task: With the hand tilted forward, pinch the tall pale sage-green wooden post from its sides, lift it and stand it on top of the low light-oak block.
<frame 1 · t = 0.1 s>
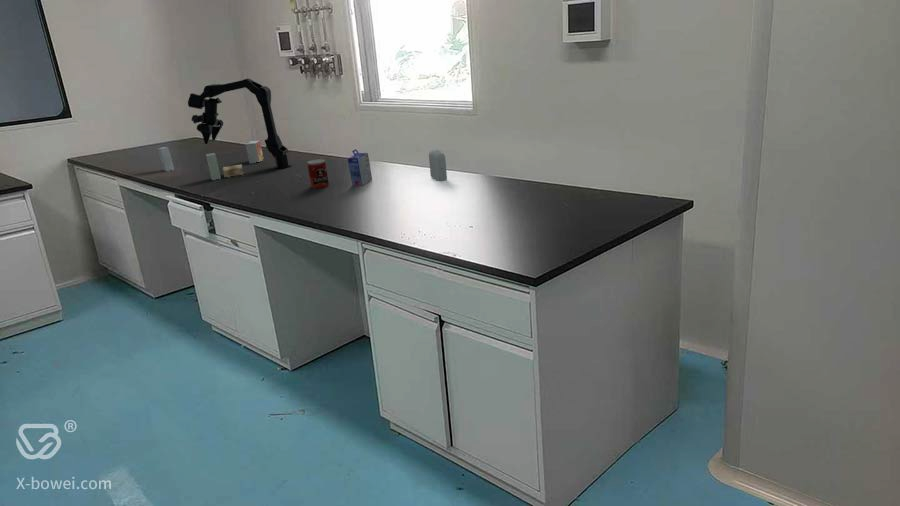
hand: (209, 142, 315), 15 cm above the worktop, tool pointing down, fingers open, 9 cm apart
ink cartridge box: (362, 183, 272), on the worktop
oak block: (234, 175, 311), on the worktop
sage post: (216, 178, 306), on the worktop
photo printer: (438, 179, 268), on the worktop
canned food: (320, 186, 274), on the worktop
skincare box: (168, 170, 336), on the worktop
small box: (256, 162, 337), on the worktop
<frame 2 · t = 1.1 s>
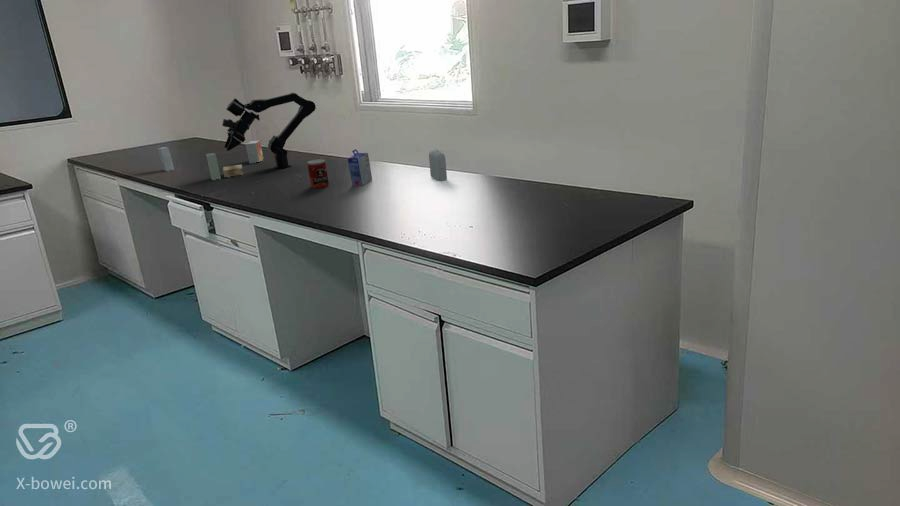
hand: (226, 148, 304), 13 cm above the worktop, tool tilted 45°, fingers open, 9 cm apart
nothing on the worktop moved.
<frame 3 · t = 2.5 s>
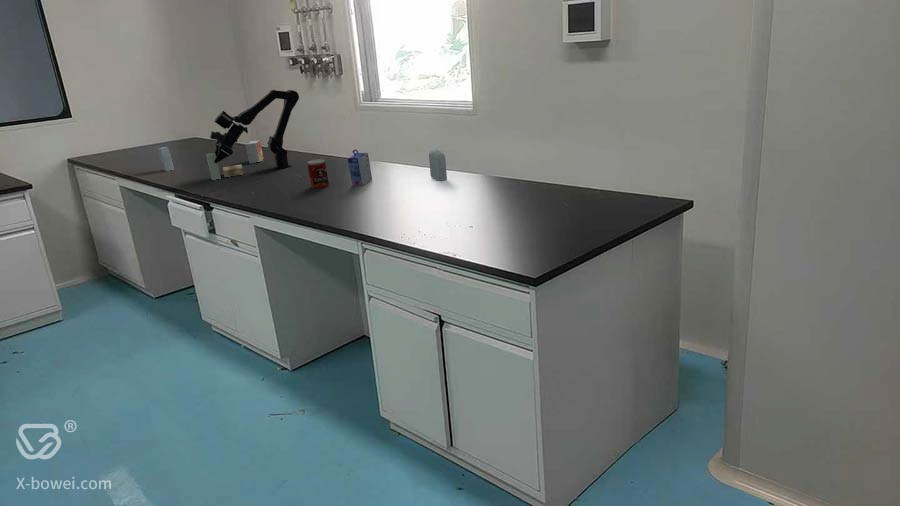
hand: (213, 161, 303), 9 cm above the worktop, tool tilted 45°, fingers open, 9 cm apart
nothing on the worktop moved.
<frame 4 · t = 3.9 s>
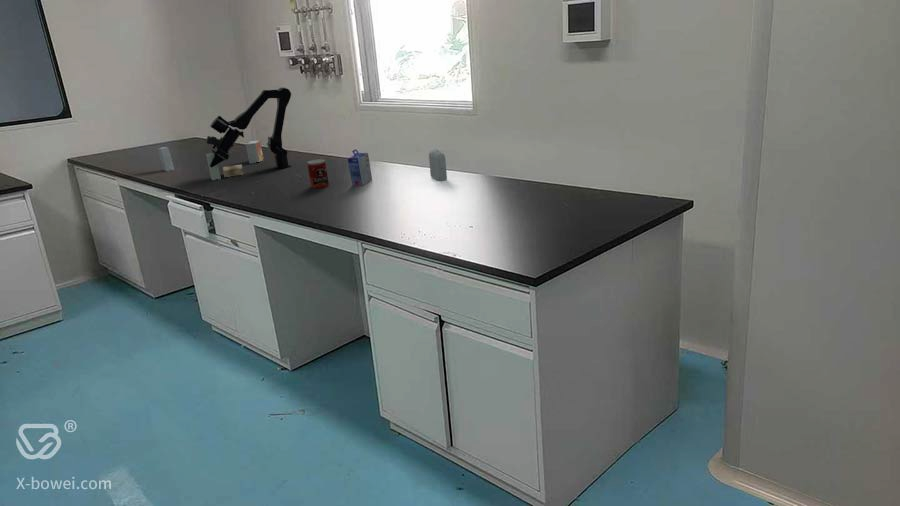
hand: (210, 165, 303), 7 cm above the worktop, tool tilted 45°, fingers closed on sage post, 5 cm apart
sage post: (216, 178, 306), on the worktop, touching gripper
everything else where it was.
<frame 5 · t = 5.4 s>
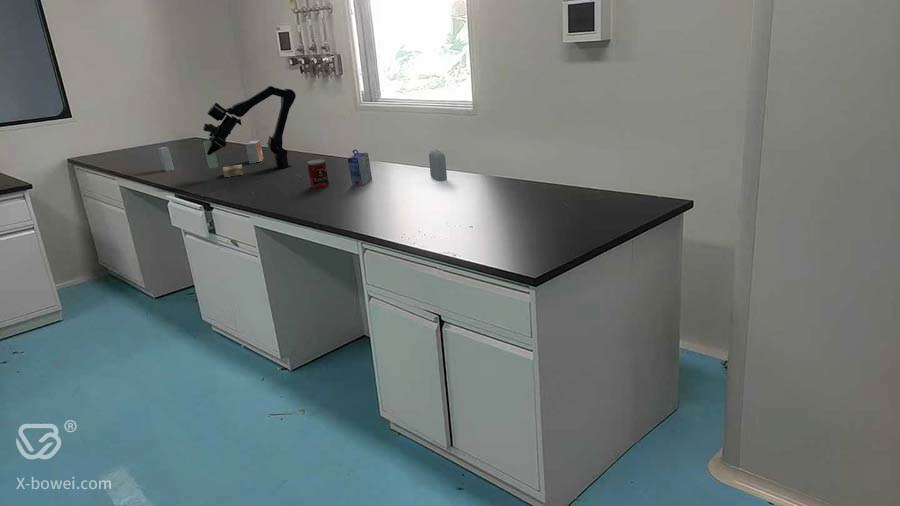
hand: (207, 153, 301), 13 cm above the worktop, tool tilted 45°, fingers closed on sage post, 5 cm apart
sage post: (213, 166, 303), point 6 cm above the worktop, touching gripper
everything else where it was.
when the fingers open (12 cm above the worktop, at t = 7.3 s): sage post drops 1 cm, resting on oak block.
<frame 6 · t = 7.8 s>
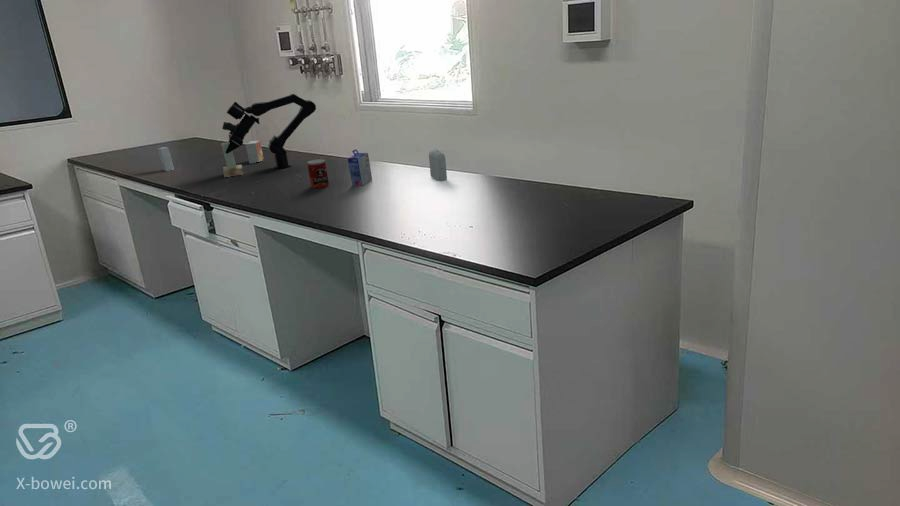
hand: (226, 151, 306), 12 cm above the worktop, tool tilted 45°, fingers open, 9 cm apart
oak block: (234, 175, 311), on the worktop, touching sage post
sage post: (231, 167, 309), point 4 cm above the worktop, touching oak block
everything else where it was.
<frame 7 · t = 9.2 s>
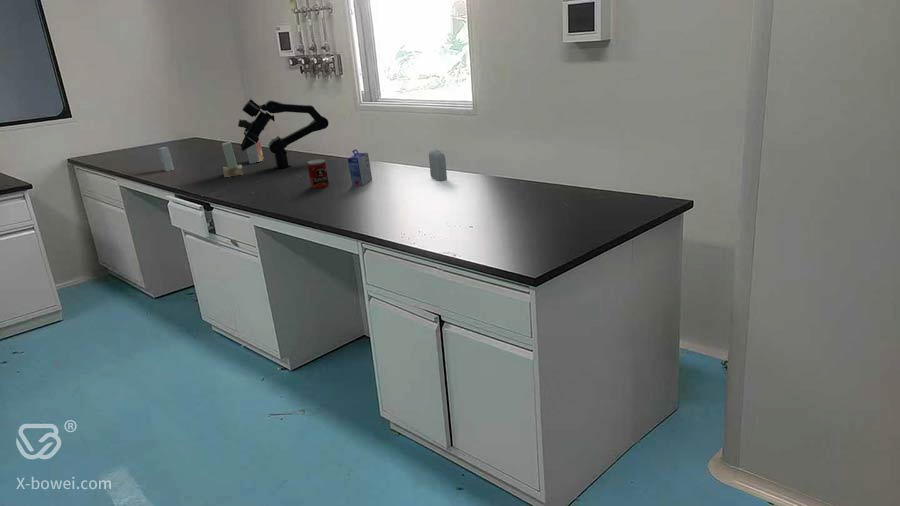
hand: (241, 148, 308), 12 cm above the worktop, tool tilted 45°, fingers open, 9 cm apart
nothing on the worktop moved.
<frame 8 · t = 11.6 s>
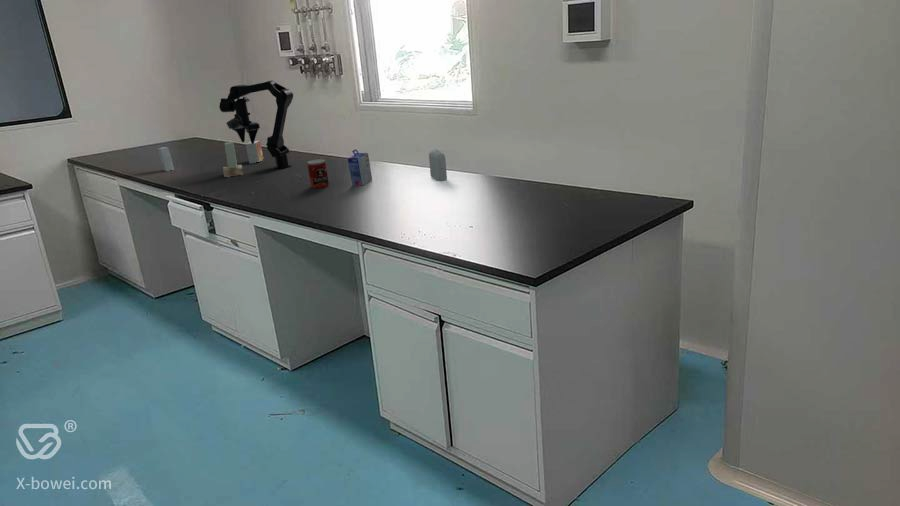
hand: (248, 142, 318), 13 cm above the worktop, tool pointing down, fingers open, 9 cm apart
oak block: (234, 175, 311), on the worktop
sage post: (232, 167, 309), point 4 cm above the worktop
everything else where it was.
at the end: sage post inside the target area on the oak block (0.3 cm from its centre), point 4.1 cm above the oak block's base; sage post tilted 3°; the gripper is holding nothing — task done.
